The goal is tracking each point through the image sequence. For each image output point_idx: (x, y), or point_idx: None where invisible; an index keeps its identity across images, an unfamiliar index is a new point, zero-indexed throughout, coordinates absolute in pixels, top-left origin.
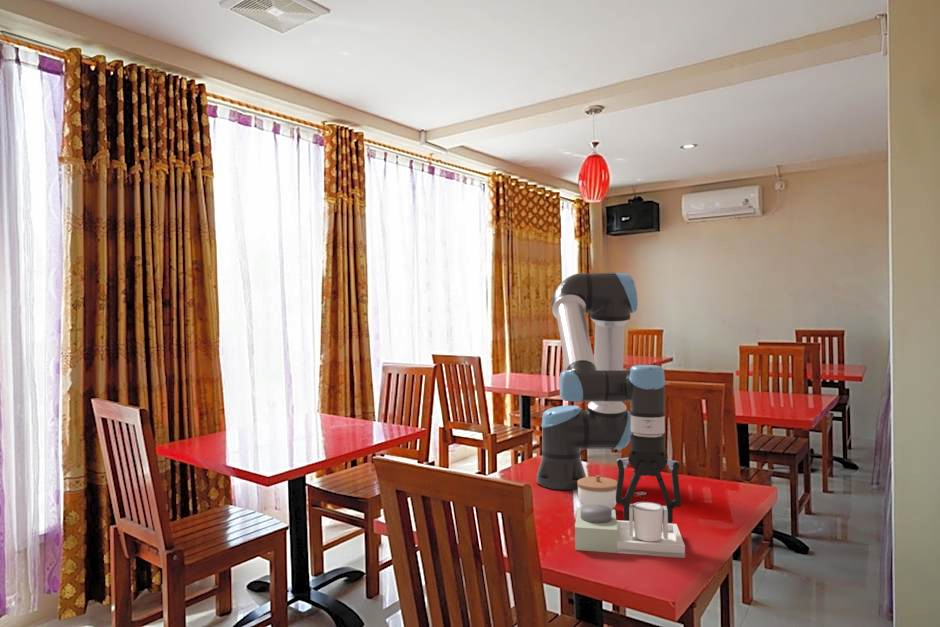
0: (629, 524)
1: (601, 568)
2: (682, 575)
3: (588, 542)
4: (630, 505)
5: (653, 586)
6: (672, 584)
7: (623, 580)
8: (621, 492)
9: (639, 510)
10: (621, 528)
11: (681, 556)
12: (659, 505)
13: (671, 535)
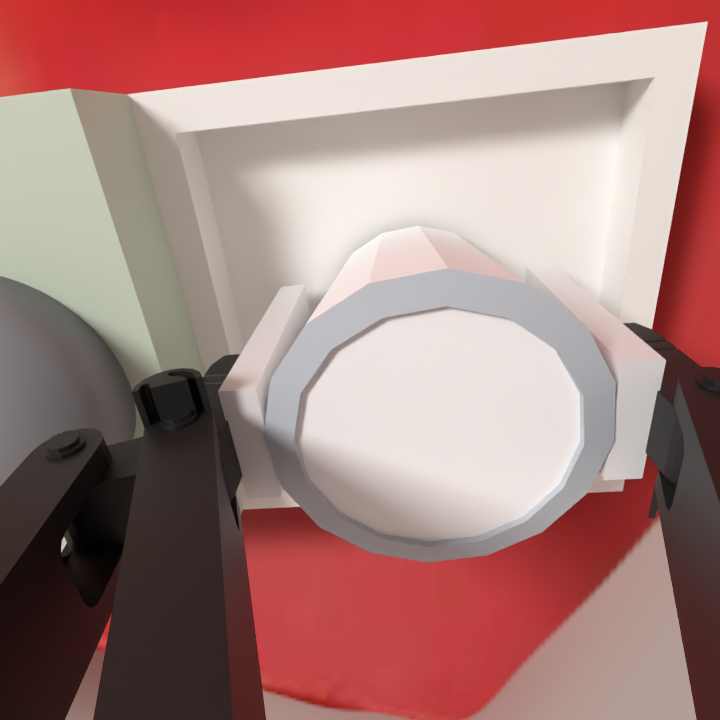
0: None
1: None
2: (537, 599)
3: None
4: (246, 437)
5: (420, 676)
6: (486, 657)
7: (319, 661)
8: (88, 642)
9: (350, 533)
10: (209, 136)
11: None
12: (579, 389)
13: (593, 187)
